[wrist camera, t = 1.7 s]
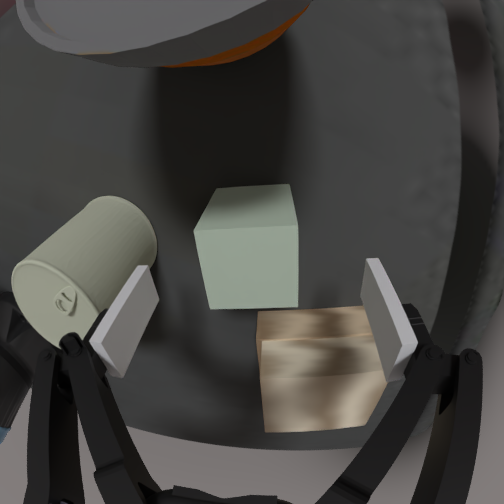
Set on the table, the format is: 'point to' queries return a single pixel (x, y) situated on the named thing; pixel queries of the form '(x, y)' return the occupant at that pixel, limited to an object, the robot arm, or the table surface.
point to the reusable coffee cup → (159, 29)
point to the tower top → (320, 383)
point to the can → (83, 267)
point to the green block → (249, 248)
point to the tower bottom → (311, 324)
